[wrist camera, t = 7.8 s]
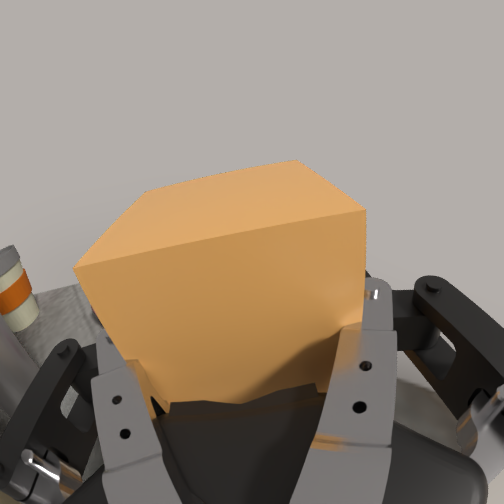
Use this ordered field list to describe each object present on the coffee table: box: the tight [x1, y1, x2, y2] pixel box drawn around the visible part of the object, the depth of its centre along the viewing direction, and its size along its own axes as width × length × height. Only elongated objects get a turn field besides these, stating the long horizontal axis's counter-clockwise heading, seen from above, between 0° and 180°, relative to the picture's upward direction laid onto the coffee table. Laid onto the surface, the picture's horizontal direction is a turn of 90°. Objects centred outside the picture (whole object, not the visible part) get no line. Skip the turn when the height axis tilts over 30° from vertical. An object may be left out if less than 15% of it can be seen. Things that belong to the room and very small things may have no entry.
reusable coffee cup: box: [0, 245, 39, 332], centre depth 40 cm, size 13×13×15 cm
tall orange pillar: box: [73, 160, 366, 404], centre depth 10 cm, size 6×6×10 cm
